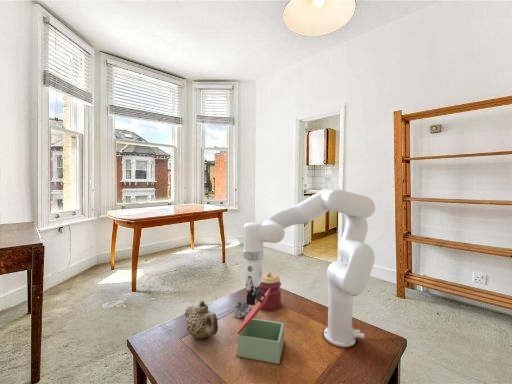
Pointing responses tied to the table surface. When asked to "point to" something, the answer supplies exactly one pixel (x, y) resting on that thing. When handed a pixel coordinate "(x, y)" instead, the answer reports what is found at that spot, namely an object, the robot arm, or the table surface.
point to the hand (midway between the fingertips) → (253, 299)
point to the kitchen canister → (275, 293)
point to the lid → (255, 308)
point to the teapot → (201, 321)
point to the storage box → (261, 340)
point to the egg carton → (241, 309)
